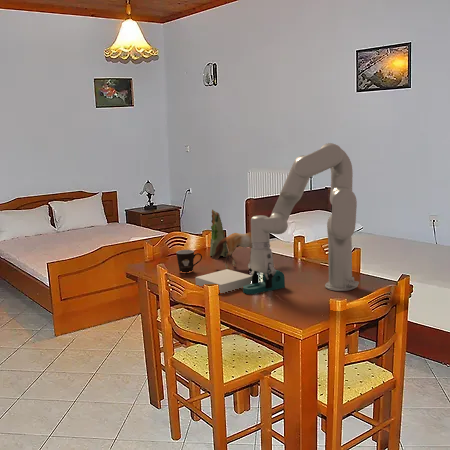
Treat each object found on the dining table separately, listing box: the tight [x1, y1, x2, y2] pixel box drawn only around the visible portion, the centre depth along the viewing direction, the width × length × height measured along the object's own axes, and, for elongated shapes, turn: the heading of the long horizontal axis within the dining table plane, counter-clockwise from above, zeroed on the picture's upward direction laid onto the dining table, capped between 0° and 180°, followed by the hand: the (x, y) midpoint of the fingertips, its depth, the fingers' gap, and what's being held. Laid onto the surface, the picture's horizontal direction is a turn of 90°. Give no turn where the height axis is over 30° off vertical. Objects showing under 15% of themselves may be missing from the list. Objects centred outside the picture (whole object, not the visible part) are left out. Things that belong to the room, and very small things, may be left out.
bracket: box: [242, 268, 286, 295], centre depth 235 cm, size 18×7×8 cm, turn 118°
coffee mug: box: [175, 249, 203, 272], centre depth 270 cm, size 12×9×10 cm
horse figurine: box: [210, 230, 252, 270], centre depth 274 cm, size 31×8×21 cm, turn 105°
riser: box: [194, 268, 252, 294], centre depth 244 cm, size 18×18×4 cm
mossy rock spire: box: [209, 209, 229, 258], centre depth 298 cm, size 11×12×25 cm
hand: (262, 285), depth 236 cm, fingers closed on bracket, 7 cm apart
